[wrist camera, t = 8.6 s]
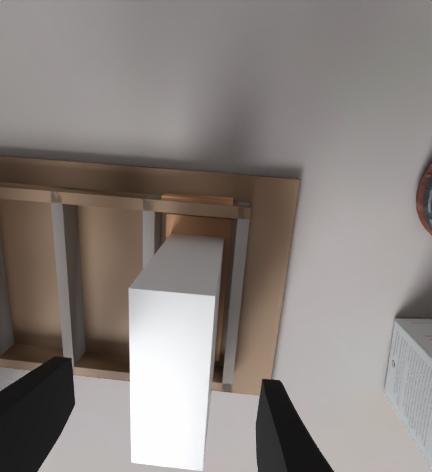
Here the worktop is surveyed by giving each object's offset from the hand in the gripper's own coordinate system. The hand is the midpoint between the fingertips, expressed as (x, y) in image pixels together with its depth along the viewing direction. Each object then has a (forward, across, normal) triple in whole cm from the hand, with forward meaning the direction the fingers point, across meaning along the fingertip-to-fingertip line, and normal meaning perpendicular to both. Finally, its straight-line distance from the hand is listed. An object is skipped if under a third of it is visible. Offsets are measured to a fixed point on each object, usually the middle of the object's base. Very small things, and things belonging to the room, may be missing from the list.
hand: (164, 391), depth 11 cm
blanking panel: (+8, 0, 0) cm, 8 cm away
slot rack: (+8, +5, 0) cm, 10 cm away
